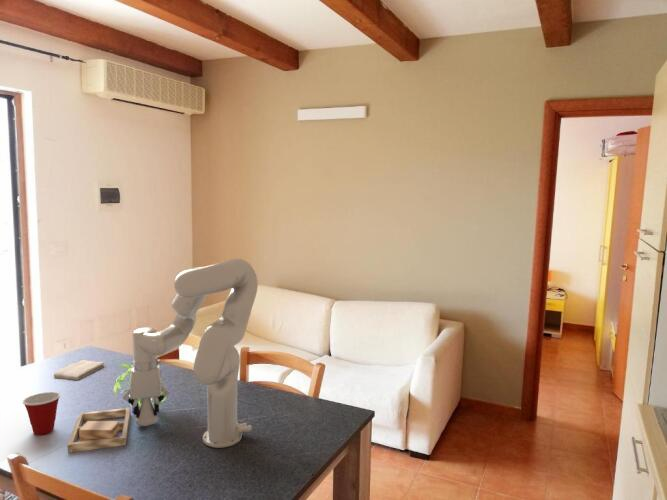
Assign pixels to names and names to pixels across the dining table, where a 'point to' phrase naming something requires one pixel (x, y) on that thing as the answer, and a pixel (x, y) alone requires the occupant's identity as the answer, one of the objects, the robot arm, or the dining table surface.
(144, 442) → the dining table surface
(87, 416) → the wooden tray
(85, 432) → the offcut upper
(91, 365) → the washcloth
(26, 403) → the plastic cup
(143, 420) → the flask
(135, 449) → the dining table surface
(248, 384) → the dining table surface
